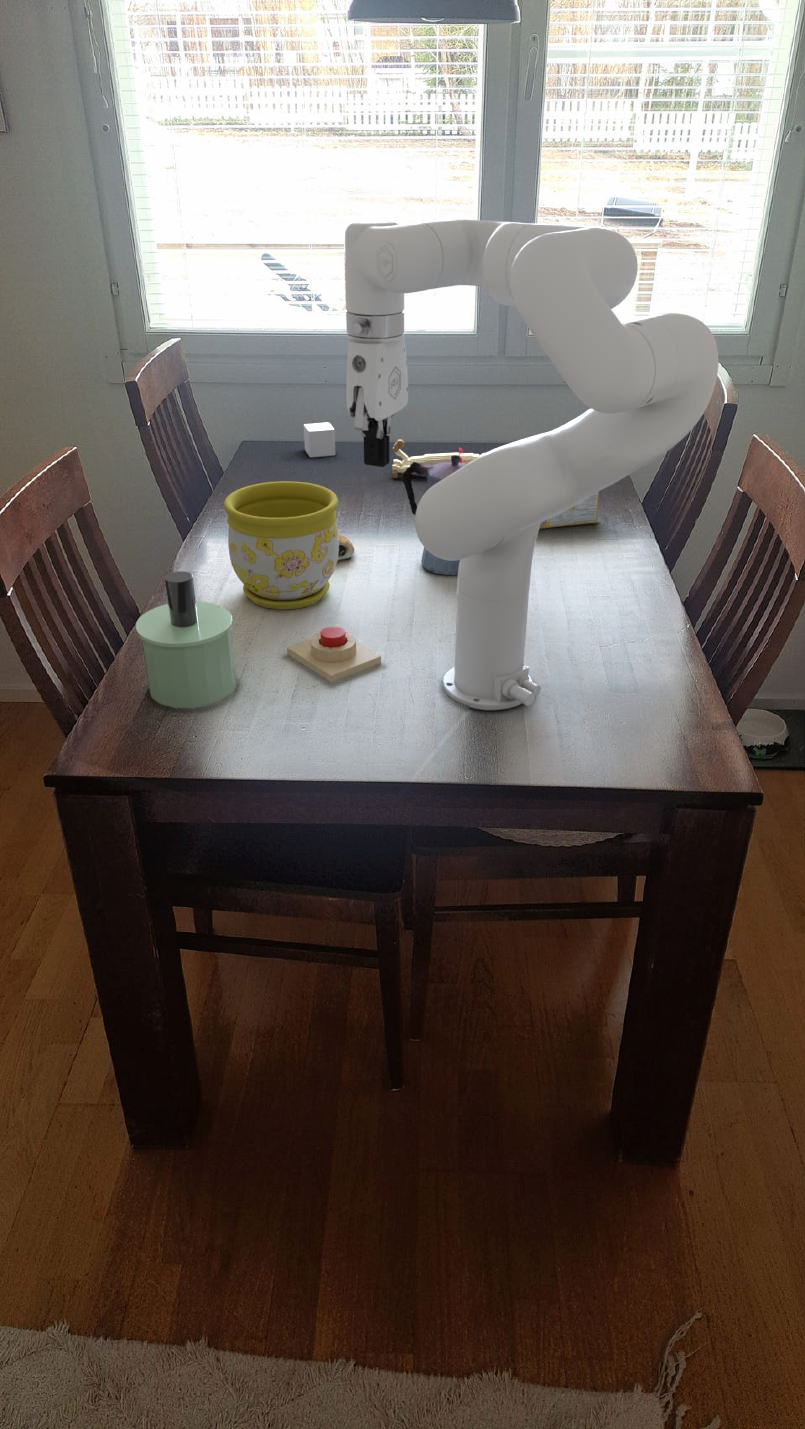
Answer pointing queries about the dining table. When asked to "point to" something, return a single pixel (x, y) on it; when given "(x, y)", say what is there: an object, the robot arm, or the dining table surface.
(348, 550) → the pastry
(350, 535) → the dining table surface
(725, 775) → the dining table surface
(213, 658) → the mint green cup
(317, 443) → the white cube
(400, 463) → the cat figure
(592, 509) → the candy box
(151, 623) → the lid
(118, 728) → the dining table surface
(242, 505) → the flowerpot
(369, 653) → the switch block
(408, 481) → the moka pot
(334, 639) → the button
